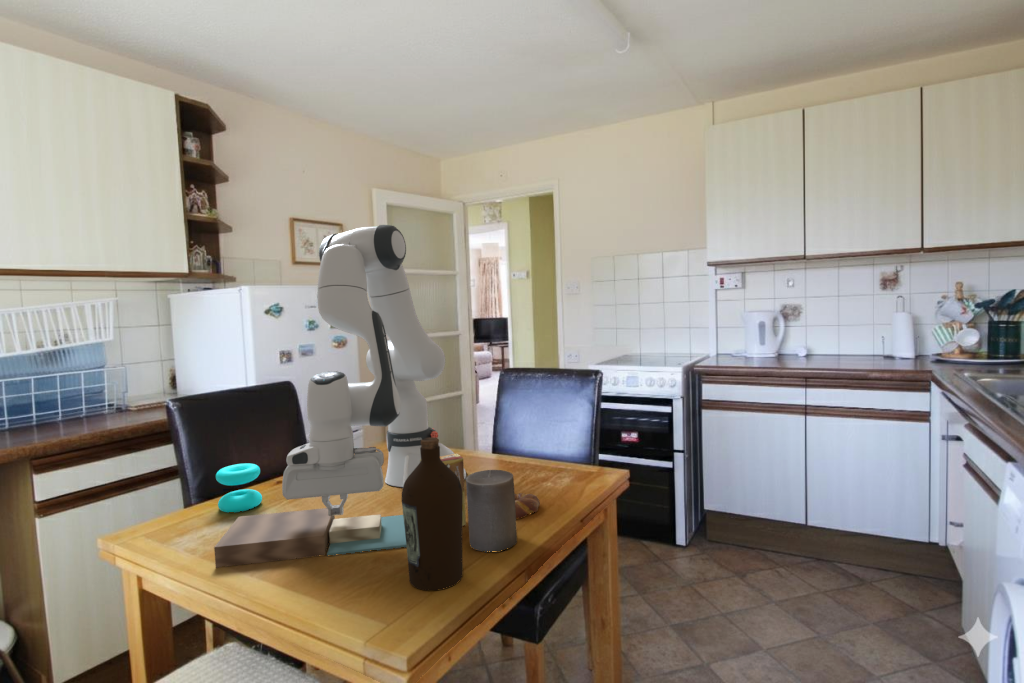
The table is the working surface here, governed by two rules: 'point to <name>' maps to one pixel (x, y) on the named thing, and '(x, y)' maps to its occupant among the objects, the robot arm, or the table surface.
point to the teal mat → (388, 539)
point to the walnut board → (274, 537)
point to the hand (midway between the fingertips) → (336, 514)
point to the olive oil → (433, 521)
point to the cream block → (355, 528)
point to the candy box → (457, 467)
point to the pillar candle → (491, 510)
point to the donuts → (239, 498)
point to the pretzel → (525, 504)
